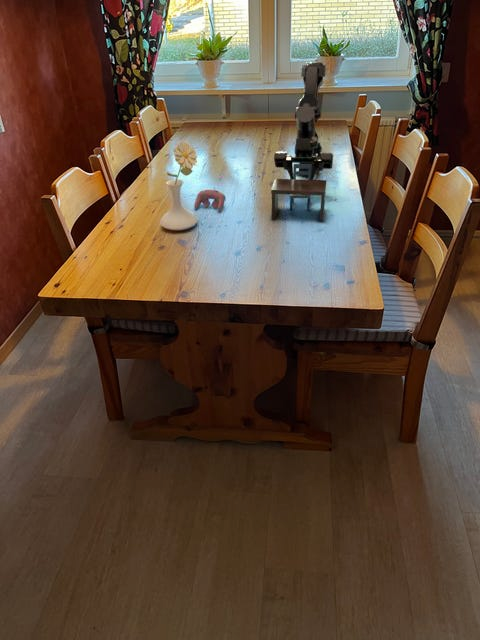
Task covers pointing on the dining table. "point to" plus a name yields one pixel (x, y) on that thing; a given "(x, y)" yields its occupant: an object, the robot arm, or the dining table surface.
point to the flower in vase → (178, 214)
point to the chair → (303, 166)
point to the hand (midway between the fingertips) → (301, 184)
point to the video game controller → (210, 194)
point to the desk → (298, 191)
